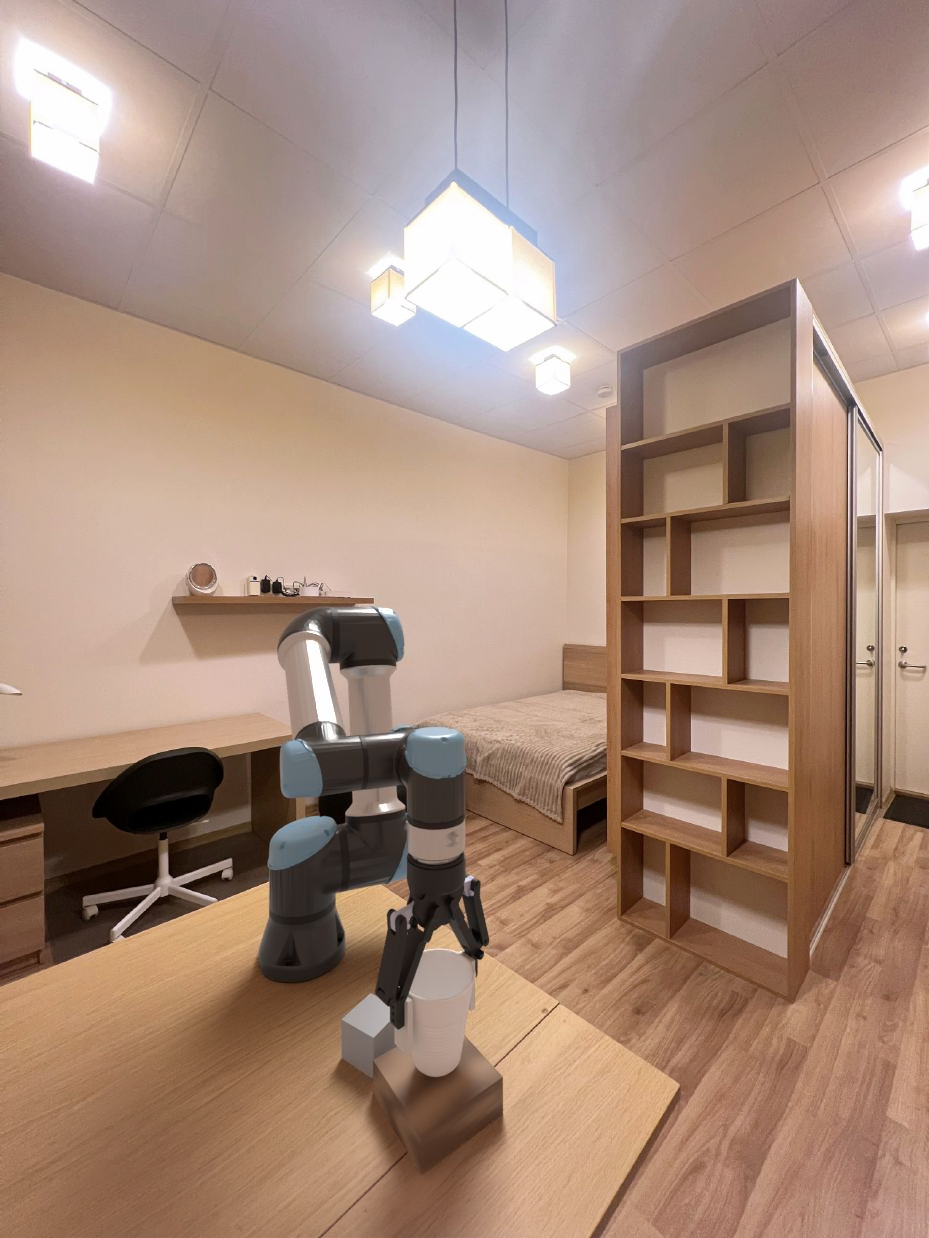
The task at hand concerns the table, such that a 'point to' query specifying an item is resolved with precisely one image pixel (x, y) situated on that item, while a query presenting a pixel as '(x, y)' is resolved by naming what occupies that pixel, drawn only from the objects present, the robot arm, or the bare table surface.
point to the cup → (440, 1009)
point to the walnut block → (437, 1102)
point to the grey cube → (367, 1034)
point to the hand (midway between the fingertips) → (436, 1025)
